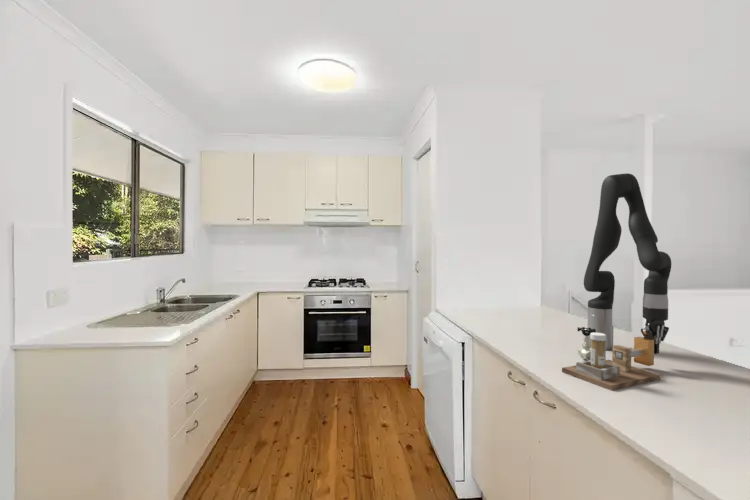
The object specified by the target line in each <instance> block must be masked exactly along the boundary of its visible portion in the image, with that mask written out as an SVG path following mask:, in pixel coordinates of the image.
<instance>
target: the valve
mask: <svg viewBox="0 0 750 500" xmlns="http://www.w3.org/2000/svg"><path fill="white" fill-rule="evenodd" d="M576 329H577V332H580V331H581V334H582V335H583V336H584V337H583V343H581V347H580V348H578V349H577V352H578V353H577V354H578V355H579V356H580V357H581V358H582V359H583V360H584V361H588V360H591V345H589V343H588V342H589V338H588V336H589V335H590V334H591V333H596V329H591V328H588V327H585V326H582V327H577V328H576Z"/></svg>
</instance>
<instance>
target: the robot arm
mask: <svg viewBox="0 0 750 500" xmlns="http://www.w3.org/2000/svg"><path fill="white" fill-rule="evenodd" d="M620 198H621V199H622V198H624V200H625V202H626V203H627V206H628V212H629V213H628V222H627V223H628V231H629V233H630V235H631V236H632V240H633V241H634V244H635V245H636V246H635V247H636V252H637V257H638V260H639V261H638V262H639V263H640V265H641V266H642V267H643V268H644V269H645V270H646V271H648V275H647V277H646V278H645V279H644V281H643V295H642V296H643V297H642V318H643V319H645V320H646V321H645V324H644V326H645V327H644V328H641V329H640V333H641V335H643V337H644V338H648V339H653V340H654V355H658V354H660V344H661V343H662V342H664V341H665V339H666V336H667V334H668V332H669V330H670V328H669V327H668V326H666V323H665V321H667V320H669V295H668V291H669V290H668V286H669V285H668V284H669V283H668V282H669V280H670V279H669V278H670V275H671V271H672V259H671V256H670V255H669V254H668V253H667V252H664V251H659V249H658V246H657V243H658V241H659V240H658V236H657V234H656V231H655V230H654V227H653V226H652V224H651V223H652V222H650V219H649V216H648V213H647V210H646V207H645V203H644V198H643V195H642V190H641V188H640V184H639V181H638V179H637V177H636V176H635V175H634V174H633V173H629V172H628V173H619V174H610V175H607V176H606V177H605V178H604V179H603V181H602V183H601V189H600V198H599V209H598V215H597V220H596V227H595V230H594V235H593V241H592V248H591V251H590V252H591V253H590V256H589V259H588V263H587V266H586V270H585V273H584V277H583V286H584V289H585V291H586V292H589V293H590V292H591V293H600V294H599V295H597V297H595V298H591V299H589V300H588V301H587V328H591V329H596V333H603V334H605V335H606V342H605V351H606V350H607V351H608V350H612V349H613V346H614V325H613V306H614V299H615V287H616V285H615V284H616V283H615V282H616V280H615V276H614V274H613V272H612V271H610V270H609V271H608V270H600V269H601V267H602V265H603V263H604V262H605V261H606V259H608V258H609V257H610V256H611V255H612V254H613V253H614V252H615V251H616V250H617V248H618V247H619V244H620V241H621V237H622V232H623V231H622V230H623V229H622V225H621V223H620V221H619V218H618V216H617V215H618V214H617V206H618V202H619V199H620ZM588 338H589V342H588V343H589V345H591V338H590V335H589V336H588Z"/></svg>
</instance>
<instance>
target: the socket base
mask: <svg viewBox="0 0 750 500" xmlns="http://www.w3.org/2000/svg"><path fill="white" fill-rule="evenodd" d="M631 349H632V348H631V347H627V346H625V345H620V344H616V345H613V348H612V349H611V350H612V351H611V352H612V353H611V354H612V359H611V360H610V359H606V364H605V368H603V369H598V368H595V367H592V366H591V360H583V361H578V362H575V364H576V365H572V366H571V365H569V366H565V367H561V373H564V374H567V375H569V376H571V377H574V378H577V379H580V380H582V381H585V382H588V383H590V384H593V385H596V386H598V387H602V388H604V389H607V390H609V391H615V390H619V389H624V388H628V387H633V386H637V385H642V384H646V383H651V382H656V381H659V380H661V374H658V373H654V372H651V371H649V370H644V369H642V368H638V367H634V366H632V357H631ZM617 351H619V352H622V353H623V359H620V358H616V352H617Z"/></svg>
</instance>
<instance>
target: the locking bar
mask: <svg viewBox="0 0 750 500" xmlns="http://www.w3.org/2000/svg"><path fill="white" fill-rule="evenodd" d="M633 339H634V340H633V341H634V342H633V348H631V358H633V362H634V363H636V364H640V365H644V366H647V367H651V366H654V364H655V354H654V340H653V339H648V338H644V336H643V337H642V336H635V337H633ZM616 358H620V359H623V353H622V352H619V351H617V352H616Z"/></svg>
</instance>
